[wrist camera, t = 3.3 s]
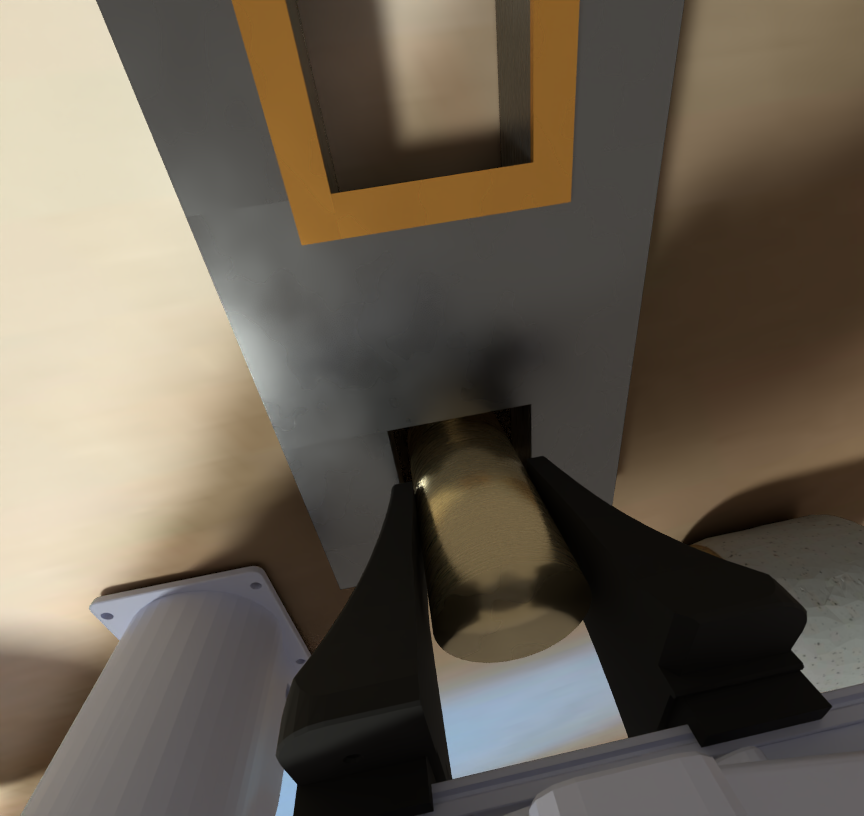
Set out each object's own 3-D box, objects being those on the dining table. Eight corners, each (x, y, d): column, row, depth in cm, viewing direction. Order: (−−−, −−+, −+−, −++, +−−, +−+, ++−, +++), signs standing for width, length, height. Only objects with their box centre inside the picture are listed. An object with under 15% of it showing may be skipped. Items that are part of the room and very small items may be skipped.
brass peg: (501, 465, 17) (585, 643, 10) (415, 481, 17) (443, 675, 10) (497, 387, 15) (597, 545, 8) (399, 405, 15) (420, 582, 8)
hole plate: (581, 495, 19) (610, 537, 17) (344, 543, 19) (340, 593, 16) (647, -271, 8) (758, -460, 6) (65, -212, 7) (-76, -396, 5)
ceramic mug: (671, 517, 21) (808, 670, 14) (812, 484, 21) (1011, 619, 15) (648, 622, 26) (740, 767, 20) (760, 595, 27) (888, 729, 20)
